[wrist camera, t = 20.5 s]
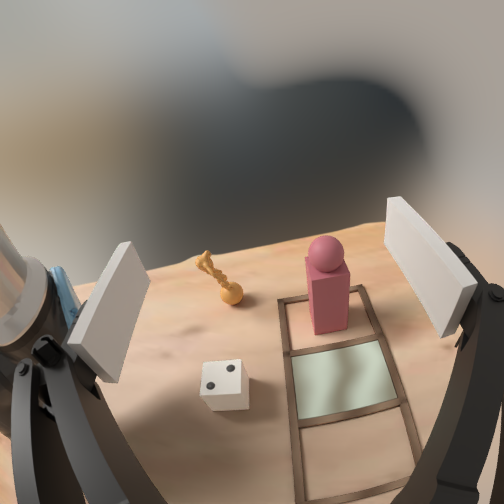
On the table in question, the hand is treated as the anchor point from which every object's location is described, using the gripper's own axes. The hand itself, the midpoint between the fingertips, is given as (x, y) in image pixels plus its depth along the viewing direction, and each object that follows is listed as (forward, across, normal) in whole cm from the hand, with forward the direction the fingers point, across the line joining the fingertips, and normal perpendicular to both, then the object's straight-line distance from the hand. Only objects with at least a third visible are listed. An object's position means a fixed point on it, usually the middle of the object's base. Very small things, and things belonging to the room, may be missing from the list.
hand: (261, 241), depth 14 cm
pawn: (+16, +7, -27) cm, 32 cm away
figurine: (+24, -9, -28) cm, 37 cm away
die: (+6, -8, -27) cm, 29 cm away
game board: (+6, +7, -27) cm, 28 cm away
